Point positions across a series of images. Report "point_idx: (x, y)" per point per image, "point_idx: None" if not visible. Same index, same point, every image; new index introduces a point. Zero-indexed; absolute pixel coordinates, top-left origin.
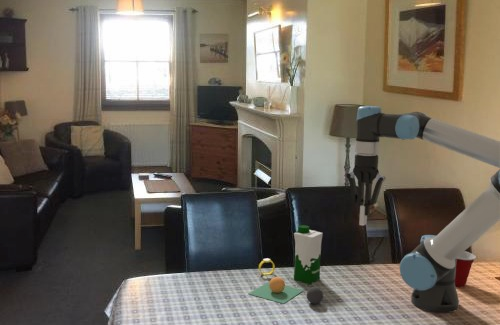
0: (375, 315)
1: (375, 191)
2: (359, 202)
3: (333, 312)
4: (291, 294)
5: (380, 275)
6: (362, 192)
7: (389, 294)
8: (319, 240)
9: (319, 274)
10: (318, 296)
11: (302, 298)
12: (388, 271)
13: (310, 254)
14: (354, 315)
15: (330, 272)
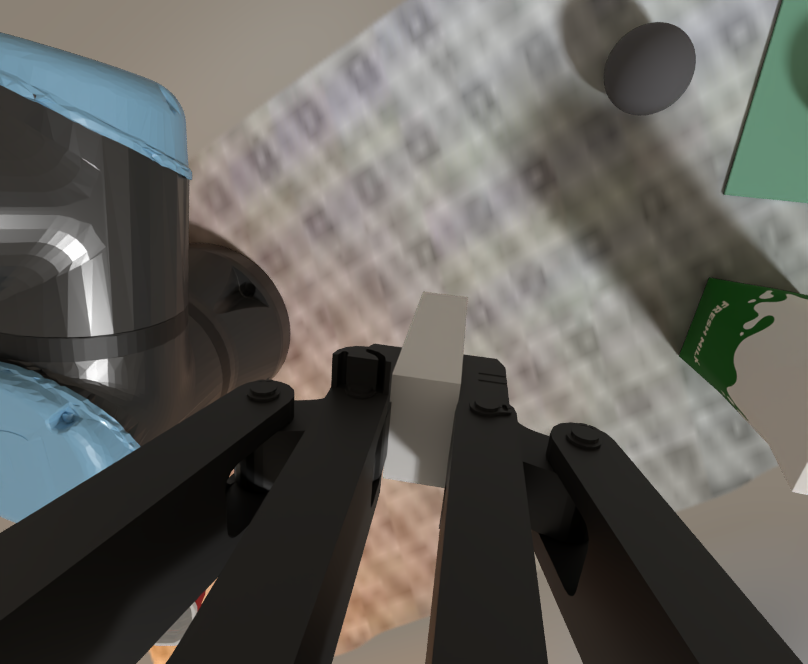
0: (360, 97)
1: (60, 532)
2: (477, 416)
3: (528, 22)
4: (773, 110)
5: None
6: (435, 586)
7: (372, 332)
8: (784, 423)
9: (688, 353)
10: (624, 38)
11: (707, 100)
12: (436, 539)
13: (792, 328)
14: (435, 45)
15: (649, 446)
